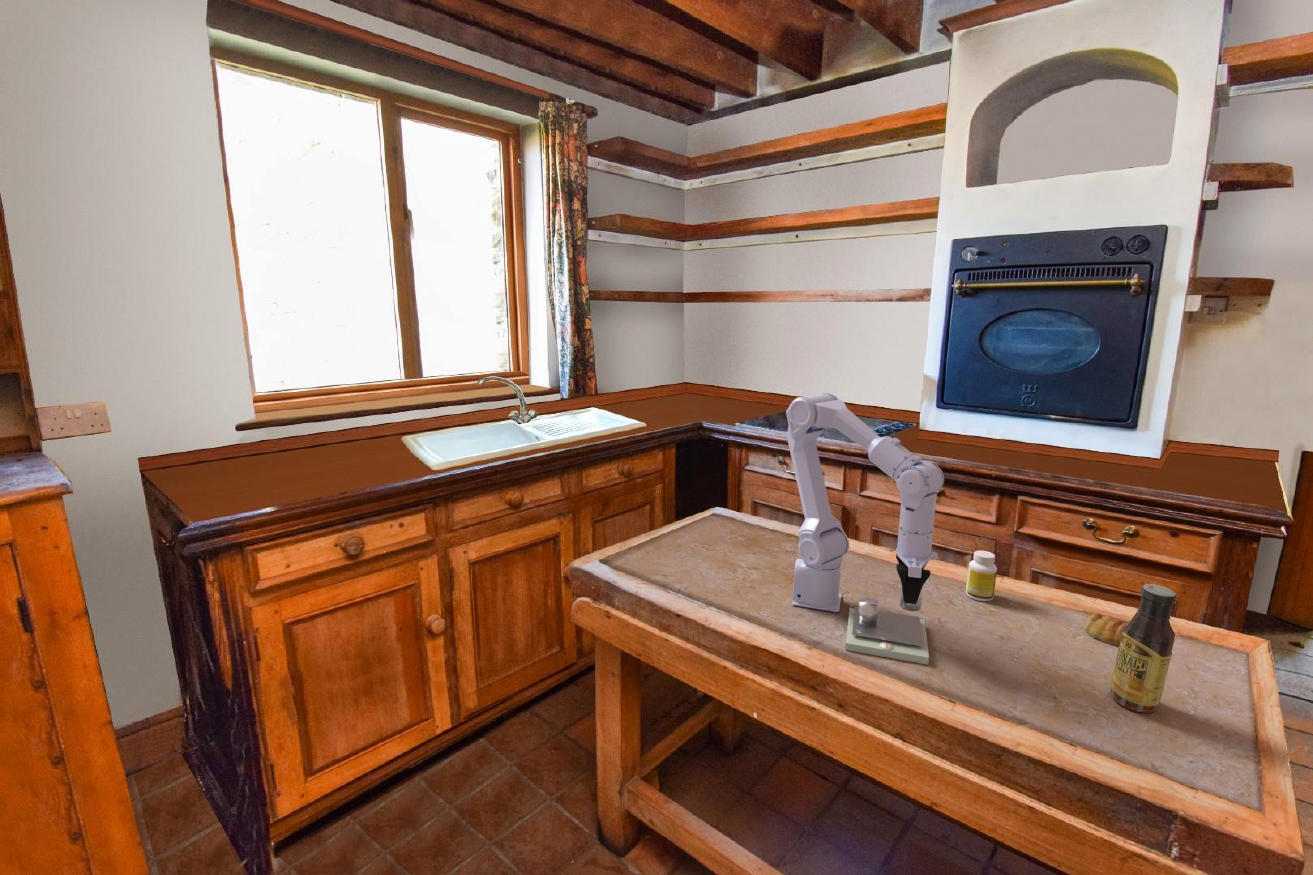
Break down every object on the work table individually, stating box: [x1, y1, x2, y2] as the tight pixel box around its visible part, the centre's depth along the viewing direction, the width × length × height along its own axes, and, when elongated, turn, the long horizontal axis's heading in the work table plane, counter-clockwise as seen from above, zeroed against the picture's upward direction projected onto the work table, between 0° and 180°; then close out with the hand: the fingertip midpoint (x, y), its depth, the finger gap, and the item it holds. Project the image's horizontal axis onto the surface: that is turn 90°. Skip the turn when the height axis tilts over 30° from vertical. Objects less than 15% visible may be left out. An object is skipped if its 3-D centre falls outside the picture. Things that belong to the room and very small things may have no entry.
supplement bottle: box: [965, 550, 998, 602], centre depth 131 cm, size 5×5×10 cm
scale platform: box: [852, 606, 923, 646], centre depth 117 cm, size 12×10×2 cm
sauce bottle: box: [1110, 583, 1177, 714], centre depth 95 cm, size 6×6×20 cm
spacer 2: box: [899, 586, 923, 612], centre depth 114 cm, size 4×4×4 cm
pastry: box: [1084, 612, 1128, 648], centre depth 115 cm, size 9×7×4 cm
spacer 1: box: [858, 596, 880, 626], centre depth 117 cm, size 4×4×4 cm
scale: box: [844, 607, 930, 666], centre depth 116 cm, size 14×14×2 cm
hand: (909, 597), depth 114 cm, fingers closed on spacer 2, 4 cm apart
